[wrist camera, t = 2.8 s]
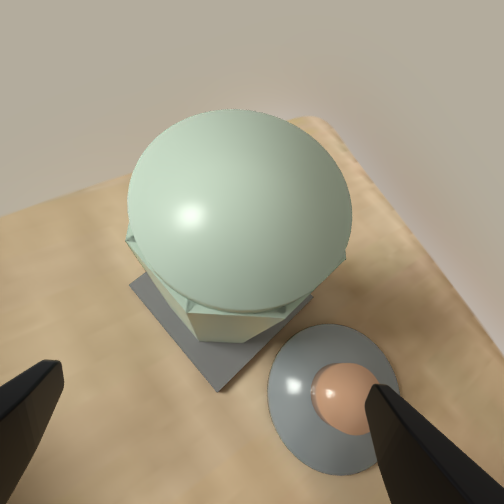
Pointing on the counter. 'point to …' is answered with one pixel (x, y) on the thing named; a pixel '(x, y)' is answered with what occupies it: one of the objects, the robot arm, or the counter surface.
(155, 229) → the mint green canister
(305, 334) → the plate
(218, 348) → the mat
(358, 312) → the counter surface
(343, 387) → the peach dome
